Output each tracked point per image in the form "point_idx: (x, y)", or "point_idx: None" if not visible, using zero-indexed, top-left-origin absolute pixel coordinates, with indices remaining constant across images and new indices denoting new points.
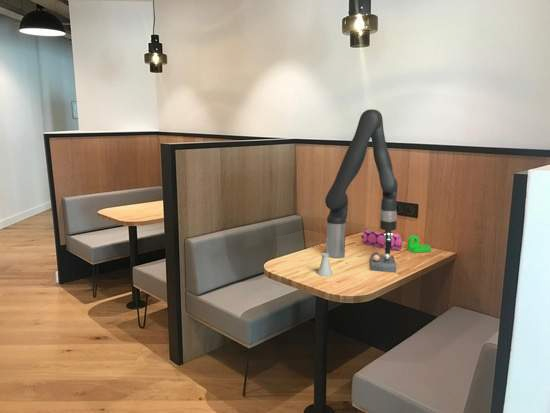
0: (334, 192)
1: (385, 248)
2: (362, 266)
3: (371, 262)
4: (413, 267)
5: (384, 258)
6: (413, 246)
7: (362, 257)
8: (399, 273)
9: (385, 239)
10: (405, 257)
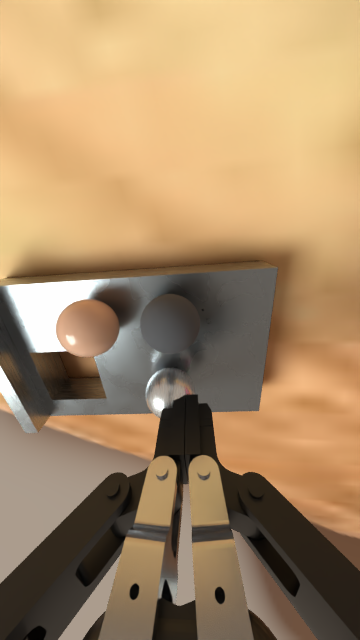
0: None
1: (169, 441)
2: (71, 206)
3: (51, 283)
4: None
5: (159, 370)
6: None
7: (327, 183)
8: None
9: (108, 625)
10: (320, 433)
